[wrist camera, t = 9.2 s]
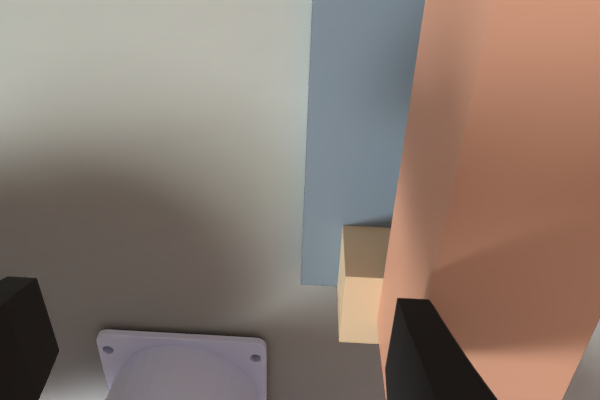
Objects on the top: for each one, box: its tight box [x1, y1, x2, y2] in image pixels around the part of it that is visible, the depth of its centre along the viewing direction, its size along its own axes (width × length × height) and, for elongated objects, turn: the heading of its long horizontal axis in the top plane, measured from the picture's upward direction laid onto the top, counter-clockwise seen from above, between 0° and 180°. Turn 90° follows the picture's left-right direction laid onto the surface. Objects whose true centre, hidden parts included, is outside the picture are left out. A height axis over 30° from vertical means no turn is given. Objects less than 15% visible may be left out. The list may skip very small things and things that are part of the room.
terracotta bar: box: [377, 0, 600, 400], centre depth 11 cm, size 14×4×5 cm, turn 178°
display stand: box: [301, 0, 425, 344], centre depth 15 cm, size 16×9×4 cm, turn 178°
